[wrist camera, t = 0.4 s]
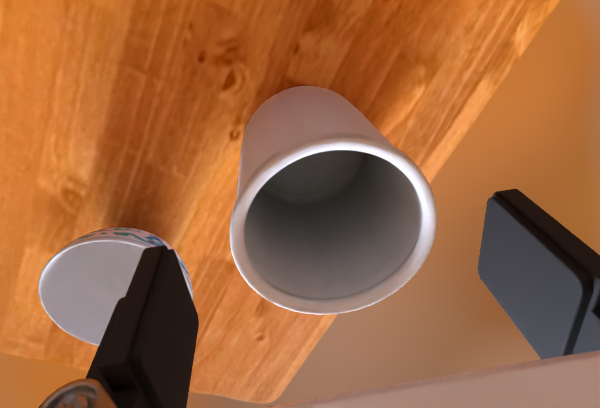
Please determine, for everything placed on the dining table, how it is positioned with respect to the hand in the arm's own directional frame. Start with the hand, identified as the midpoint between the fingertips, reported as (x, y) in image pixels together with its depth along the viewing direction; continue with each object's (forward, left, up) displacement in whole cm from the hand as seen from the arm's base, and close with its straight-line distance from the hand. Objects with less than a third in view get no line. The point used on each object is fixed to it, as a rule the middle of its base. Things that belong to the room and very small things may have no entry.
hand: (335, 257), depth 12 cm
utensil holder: (+9, +2, -31) cm, 32 cm away
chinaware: (+19, -20, -31) cm, 42 cm away
